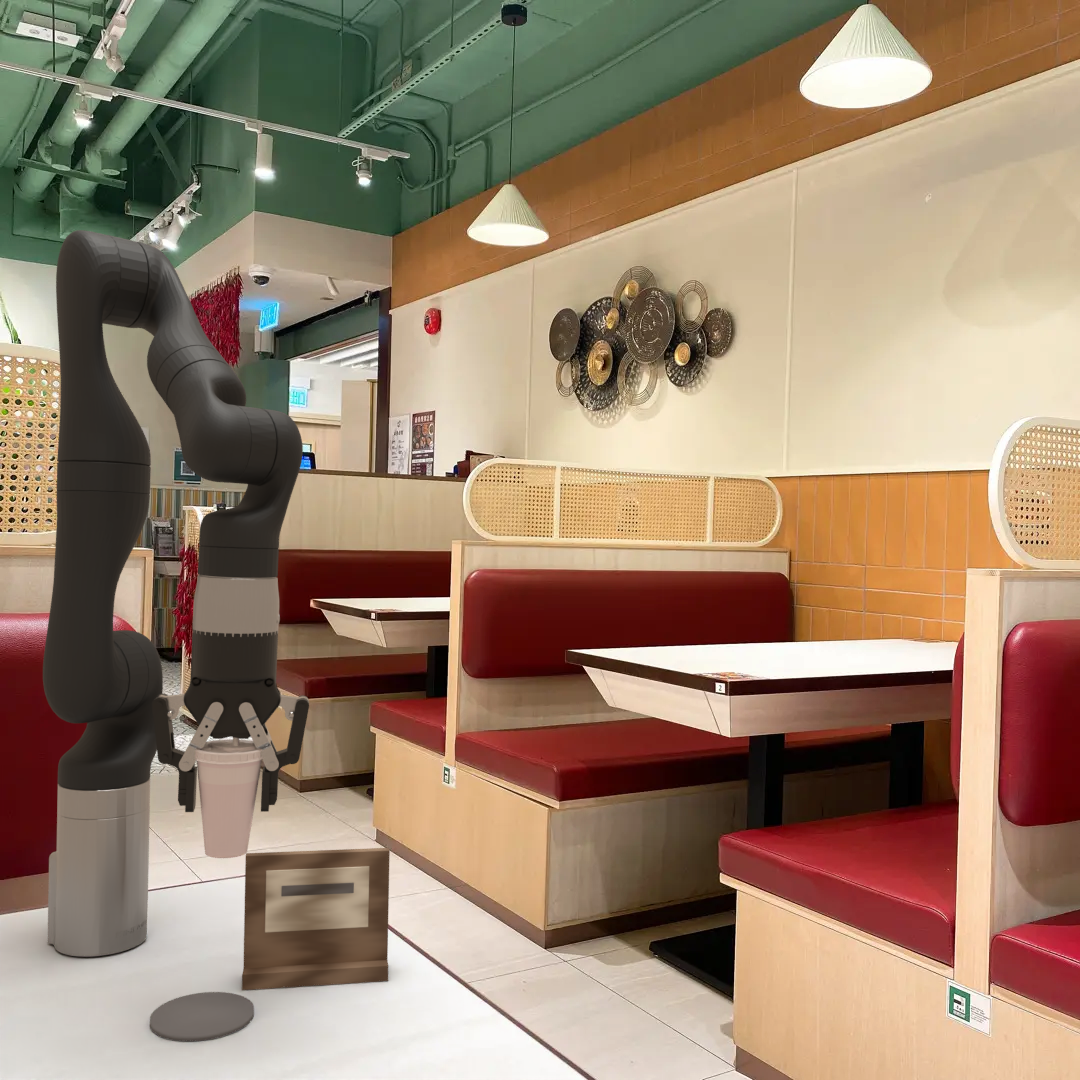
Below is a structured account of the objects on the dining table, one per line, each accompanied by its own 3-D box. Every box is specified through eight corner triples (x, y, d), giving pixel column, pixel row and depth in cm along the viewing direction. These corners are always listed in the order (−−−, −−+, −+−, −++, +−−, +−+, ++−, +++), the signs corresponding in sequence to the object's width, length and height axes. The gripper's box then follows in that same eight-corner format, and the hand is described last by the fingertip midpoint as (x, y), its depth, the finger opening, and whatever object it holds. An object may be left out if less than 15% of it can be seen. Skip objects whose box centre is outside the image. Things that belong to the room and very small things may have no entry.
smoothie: (242, 866, 94) (248, 706, 93) (175, 858, 95) (181, 701, 95) (274, 845, 100) (279, 696, 100) (211, 838, 101) (216, 691, 101)
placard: (241, 990, 103) (244, 860, 103) (244, 973, 107) (247, 848, 107) (388, 980, 106) (390, 854, 106) (385, 965, 110) (387, 843, 110)
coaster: (127, 1029, 95) (127, 1023, 95) (196, 990, 103) (196, 985, 103) (209, 1049, 91) (209, 1043, 91) (274, 1007, 99) (274, 1002, 99)
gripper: (146, 628, 92) (138, 822, 92) (317, 632, 95) (308, 820, 95) (158, 620, 99) (151, 800, 99) (316, 624, 102) (308, 798, 103)
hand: (228, 809), depth 97 cm, fingers closed on smoothie, 6 cm apart
